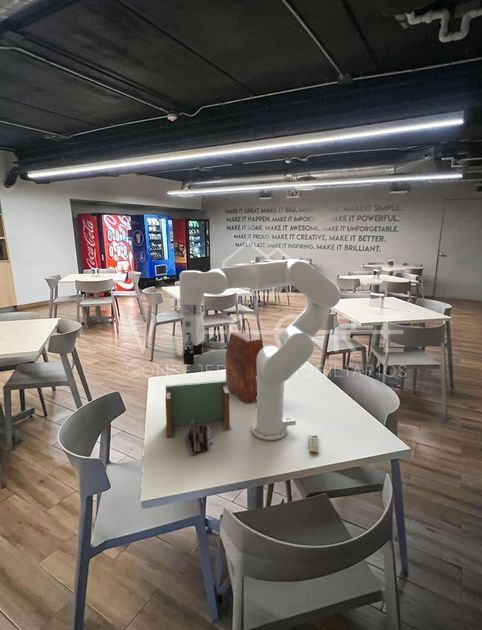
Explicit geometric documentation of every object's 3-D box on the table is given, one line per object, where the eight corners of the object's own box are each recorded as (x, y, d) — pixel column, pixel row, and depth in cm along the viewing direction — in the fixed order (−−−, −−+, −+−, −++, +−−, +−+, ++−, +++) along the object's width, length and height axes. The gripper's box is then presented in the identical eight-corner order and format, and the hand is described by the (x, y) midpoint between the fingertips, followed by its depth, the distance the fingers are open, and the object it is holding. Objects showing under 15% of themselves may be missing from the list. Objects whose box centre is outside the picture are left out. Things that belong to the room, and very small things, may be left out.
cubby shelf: (226, 417, 130) (225, 380, 127) (229, 429, 122) (229, 389, 119) (167, 424, 125) (165, 385, 122) (167, 437, 116) (165, 395, 113)
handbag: (245, 404, 141) (246, 323, 134) (225, 387, 158) (225, 315, 150) (266, 398, 147) (268, 321, 140) (245, 383, 163) (245, 312, 156)
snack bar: (319, 452, 108) (310, 448, 108) (317, 456, 108) (308, 452, 108) (317, 435, 117) (309, 432, 117) (315, 438, 118) (308, 435, 118)
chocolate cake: (214, 455, 108) (215, 417, 114) (193, 454, 105) (195, 415, 111) (204, 461, 114) (206, 425, 121) (184, 460, 112) (187, 424, 118)
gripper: (195, 314, 99) (197, 369, 103) (210, 304, 116) (210, 351, 120) (171, 313, 100) (173, 367, 104) (189, 304, 117) (190, 350, 121)
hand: (193, 359), depth 112 cm, fingers open, 9 cm apart
